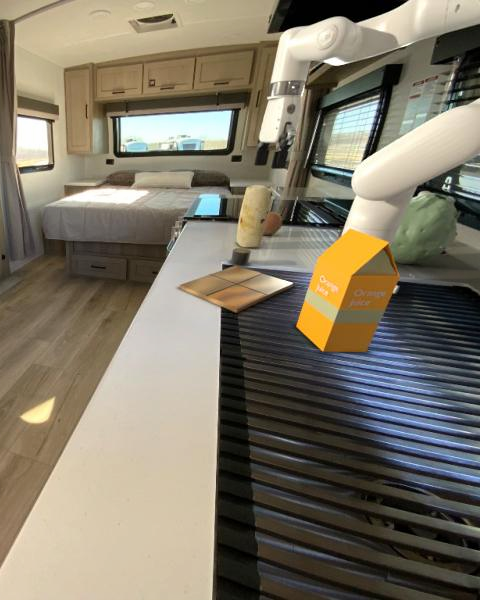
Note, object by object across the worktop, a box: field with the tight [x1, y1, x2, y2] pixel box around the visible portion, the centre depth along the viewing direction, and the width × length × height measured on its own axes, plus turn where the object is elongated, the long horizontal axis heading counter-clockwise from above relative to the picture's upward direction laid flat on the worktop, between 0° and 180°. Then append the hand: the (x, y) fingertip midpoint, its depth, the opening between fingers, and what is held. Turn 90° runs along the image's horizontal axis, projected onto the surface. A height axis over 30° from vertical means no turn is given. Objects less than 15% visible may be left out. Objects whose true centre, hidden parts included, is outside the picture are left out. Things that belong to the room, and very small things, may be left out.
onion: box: [263, 211, 283, 237], centre depth 126 cm, size 10×9×10 cm
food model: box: [236, 184, 273, 249], centre depth 111 cm, size 10×7×20 cm
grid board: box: [178, 265, 294, 314], centre depth 84 cm, size 16×24×1 cm, turn 124°
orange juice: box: [295, 229, 401, 353], centre depth 58 cm, size 8×9×20 cm
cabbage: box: [390, 190, 461, 265], centre depth 94 cm, size 16×19×20 cm
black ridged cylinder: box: [230, 247, 252, 267], centre depth 99 cm, size 5×5×4 cm
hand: (268, 166), depth 89 cm, fingers open, 9 cm apart
